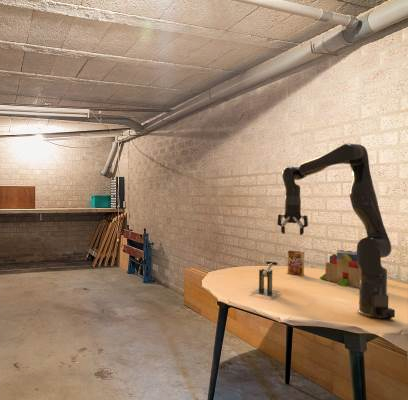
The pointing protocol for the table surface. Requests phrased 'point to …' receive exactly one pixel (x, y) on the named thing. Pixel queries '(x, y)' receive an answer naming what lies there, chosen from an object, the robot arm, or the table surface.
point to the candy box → (296, 262)
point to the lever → (268, 268)
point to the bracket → (269, 284)
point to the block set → (343, 269)
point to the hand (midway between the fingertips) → (292, 234)
